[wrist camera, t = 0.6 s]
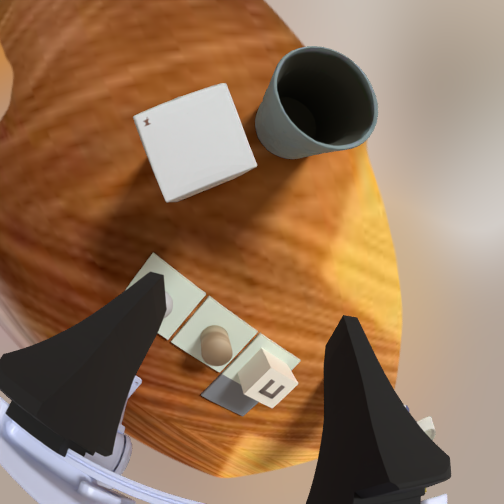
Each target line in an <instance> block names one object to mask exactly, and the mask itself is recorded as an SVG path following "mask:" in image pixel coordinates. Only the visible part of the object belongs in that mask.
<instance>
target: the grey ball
mask: <svg viewBox="0 0 504 504" xmlns="http://www.w3.org/2000/svg"><path fill="white" fill-rule="evenodd" d="M165 296H166V307H167V310H166V313H165V316H164V318H166V317H167V316H168V315H169V314H170V313H171V311H172V309H173V300H172V298H171V296H170V294H169V293H168V292H166V291H165Z"/></svg>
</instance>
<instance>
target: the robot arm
mask: <svg viewBox="0 0 504 504" xmlns="http://www.w3.org/2000/svg"><path fill="white" fill-rule="evenodd" d="M166 310H167V307H166V296H165V284H164V275H162V274H158V273H154V272H151V271H150V272H149V273H147V274H146V275H145V276H143V277H142V278H141V279H139V280H138V281H137V282H136V283H134V284H133V285H132V286H130V287H129V288H128V289H127V290H125V291H124V292H123V293H121V294H120V295H119V296H117V297H116V298H115V299H113V300H112V301H111V302H109V303H108V304H107V305H105V306H104V307H102V308H101V309H99V310H98V311H97V312H95V313H94V314H92V315H91V316H89V317H88V318H86V319H85V320H83V321H81V322H80V323H78V324H76V325H75V326H73V327H71V328H69V329H67V330H65V331H63V332H61V333H59V334H57V335H55V336H53V337H51V338H49V339H47V340H45V341H42V342H40V343H37V344H35V345H32V346H29V347H26V348H23V349H20V350H17V351H13V352H10V353H6V354H3V356H2V357H1V359H0V390H1V391H2V392H3V393H4V394H5V395H6V396H7V397H8V398H10V399H11V400H12V401H11V403H10V405H9V404H8V403H7V402H6V401H5V400H3V399H2V398H1V397H0V464H1V466H3V468H4V469H5V470H6V471H7V472H8V473H9V475H11V477H12V478H13V479H14V480H15V481H16V482H17V483H18V484H19V485H20V486H21V487H22V488H23V489H24V490H25V491H26V492H27V493H28V494H29V495H30V496H31V497H32V498H33V499H34V500H36V501H37V502H38V503H39V504H135V503H136V502H135V501H134V500H132V499H130V498H128V497H126V496H124V495H122V494H120V493H118V492H116V491H113V490H111V489H113V488H115V489H117V490H119V491H121V492H124V493H126V494H128V495H131V496H133V497H136V498H138V499H141V500H144V501H146V502H149V503H152V504H205V503H201V502H197V501H192V500H189V499H185V498H182V497H178V496H175V495H172V494H169V493H166V492H163V491H159V490H157V489H154V488H151V487H148V486H146V485H143V484H140V483H138V482H135V481H133V480H131V479H128V478H126V477H123V476H121V474H122V473H123V471H124V470H125V469H126V467H127V465H128V463H129V460H130V456H131V453H132V443H131V440H130V437H129V436H127V435H123V434H124V430H125V427H124V426H123V425H121V424H122V420H123V415H124V411H125V407H126V403H127V400H128V398H129V397H130V396H131V395H132V393H133V392H134V391H135V390H136V389H137V388H138V386H139V385H140V384H141V383H142V380H141V378H139V377H138V376H136V373H137V371H138V369H139V367H140V365H141V363H142V361H143V359H144V358H145V356H146V354H147V352H148V350H149V348H150V346H151V344H152V342H153V340H154V339H155V337H156V335H157V333H158V331H159V329H160V326H161V323H162V321H163V318H164V316H165V313H166ZM135 382H137V383H135ZM450 477H451V466H450V457H449V456H448V455H447V454H446V453H445V452H444V451H442V450H441V449H440V448H439V447H438V446H437V445H436V444H435V443H434V442H433V441H432V440H431V439H430V437H429V436H428V435H427V434H426V433H425V432H424V431H423V430H422V428H421V427H420V426H419V425H418V424H417V422H416V421H415V420H414V418H413V417H412V416H411V414H410V413H409V412H408V410H407V409H406V407H405V406H404V405H403V403H402V401H401V400H400V398H399V397H398V395H397V394H396V392H395V391H394V389H393V387H392V386H391V384H390V382H389V380H388V378H387V377H386V375H385V373H384V371H383V369H382V367H381V365H380V363H379V361H378V359H377V357H376V356H375V354H374V351H373V349H372V347H371V345H370V343H369V341H368V339H367V337H366V335H365V333H364V331H363V329H362V327H361V324H360V322H359V320H358V318H356V317H350V316H345V315H343V317H342V318H341V320H340V322H339V324H338V325H337V327H336V329H335V331H334V332H333V334H332V336H331V337H330V339H329V341H328V343H327V344H326V348H325V358H324V425H323V432H322V439H321V446H320V451H319V457H318V462H317V466H316V471H315V475H314V479H313V483H312V486H311V489H310V493H309V496H308V499H307V502H306V504H447V494H443V495H440V496H437V497H433V498H430V499H426V500H423V501H421V496H423V495H424V494H425V488H426V487H429V486H432V485H435V484H438V483H440V482H443V481H446V480H448V479H449V478H450Z"/></svg>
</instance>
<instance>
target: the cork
mask: <svg viewBox="0 0 504 504" xmlns="http://www.w3.org/2000/svg"><path fill="white" fill-rule="evenodd" d="M200 340H201V354H202V358H203V360H204V361H205V362H206V363H207V364H209V365H212V366H222V365H225V364H226V363H228V362H229V361H230V360H231V358H232V355H233V351H232V347H231V343H230V340H229V336H228V333H227V331H226V330H225V329H224V328H223V327H221V326H218V325H212V326H208V327H206V328H205V329H204V330H203V331H202V333H201V336H200Z"/></svg>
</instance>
